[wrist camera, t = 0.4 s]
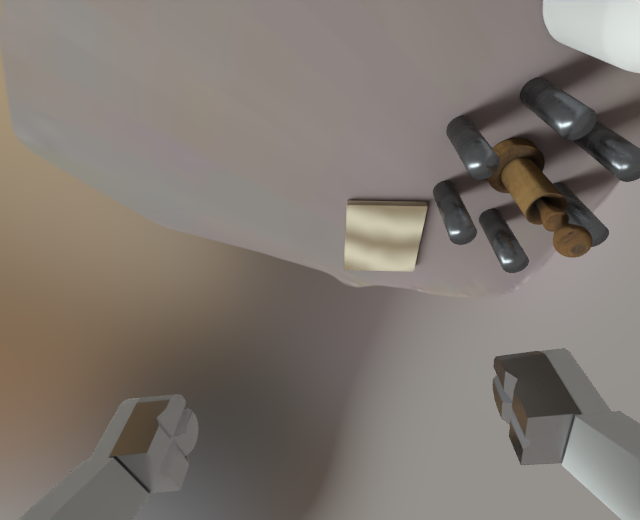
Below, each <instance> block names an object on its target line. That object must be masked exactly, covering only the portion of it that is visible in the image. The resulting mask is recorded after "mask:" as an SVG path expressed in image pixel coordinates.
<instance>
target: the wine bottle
mask: <svg viewBox="0 0 640 520" xmlns="http://www.w3.org/2000/svg"><path fill="white" fill-rule="evenodd" d="M543 17H544V22H545V25H546V27H547V30H548V31H549V33H550V34H551V35H552V37H553V38H554V39H556V40H557V41H558V42H560V43H562V44H564V45H567V46H569V47H571V48H574V49H576V50H578V51H581V52H583V53H586V54H588V55H590V56H593V57H595V58H597V59H600V60H602V61H605V62H607V63H609V64H612V65H614V66H616V67H619V68H621V69H623V70H626V71H631V72H636V73H640V0H543Z"/></svg>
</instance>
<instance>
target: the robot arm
mask: <svg viewBox="0 0 640 520" xmlns="http://www.w3.org/2000/svg"><path fill="white" fill-rule="evenodd" d="M494 369H495V371H496V374H497V375H496V376H495V377H494V378H493V393H494V398H495V402H496V405H497V408H498V411H499V413H500V416H501V418H502V419H503V420H504V421H506V422H507V423H508V424H509V425H510V430H509V438H510V440H511V443H512V445H513V447H514V450H515V452H516V455H517V457H518V459H519V462H520V464H521V465H531V464H532V465H533V464H553V463H562V466H563V467H564V468H566V469H567V470H568V471H569V472H570V473H571V474H572V475H573V476H574V477H575V478H576V479H578V480H579V481H580V482H581V483H582V484H583V485H584V486H585V487H586V488H587V489H589V490H590V491H591V492H592V493H593V494H594V495H595V496H596V497H597V498H599V499H600V500H601V501H602V502H603V503H604V504H605V505H606V506H607V507H608V508H609V509H610V510H612V511H613V512H614V513H615V514H616V515H617V516H618V517H619V518H620V519H622V520H640V424H639V423H638V422H637V421H635V420H633V419H632V418H630V417H628V416H627V415H625V414H624V413H622V412H620V411H611V410H610V408H609V407H608V406H607V404H606V403H605V401H604V400H603V398H602V397H601V396H600V394H599V393H598V391H597V390H596V388H595V387H594V386H593V384H592V383H591V381H590V380H589V379H588V377H587V376H586V374H585V373H584V371H583V370H582V369H581V367H580V366H579V364H578V363H577V362H576V360H575V359H574V357H573V356H572V355H571V353H570V352H569V351H568V350H566V349H565V348H563V349H555V350H546V351H534V352H526V353H518V354H511V355H503V356H497V357H496V358H495V359H494ZM185 403H186V401H185V400H184V398H183V397H182V396H181V395H180V394H178V395H167V396H156V397H144V398H135V399H126V400H125V401H124V402H122V403H121V404H120V406H119V407H118V409H117V411H116V413H115V414H114V416H113V418H112V420H111V422H110V423H109V425H108V427H107V429H106V431H105V433H104V434H103V436H102V438H101V440H100V441H99V443H98V445H97V447H96V449H95V450H94V453H93V454H92V456H91V458H90V459H88V460H84V461H83V462H82V463H80V464H79V465H78V466H77V467H76V468H75V469H74V470H73V471H71V473H69V474H68V475H67V476H66V477H65V478H64V479H63V480H61V481H60V482H59V483H58V484H57V485H56V486H55V487H54V488H53V489H51V490H50V491H49V492H48V493H47V494H46V495H45V496H44V497H43V498H41V499H40V500H39V501H38V502H37V503H36V504H35V505H34V506H32V507H31V508H30V509H29V510H28V511H27V512H26V513H25V514H24V515H22V516H21V517H20V518H19V519H18V520H132V519H133V518H134V516H135V515H136V514H137V512H138V511H139V510H140V508H141V507H142V506H143V505H144V503H145V502H146V501H147V500H148V498H149V497H150V493H159V492H168V491H178V490H181V487H182V484H183V481H184V477H185V475H186V472H187V469H188V465H189V462H188V459H187V455H188V454H189V452H190V451H191V450H192V449H193V448H194V447H195V444H196V441H197V437H198V422H197V418H196V416H195V414H194V413H193V411H191V410H189V409H187V408H185V407H184V406H185Z"/></svg>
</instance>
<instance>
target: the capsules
mask: <svg viewBox="0 0 640 520" xmlns="http://www.w3.org/2000/svg"><path fill="white" fill-rule="evenodd" d="M520 100H521V102H522V103H523V104H524V105H525V106H526V107H528V108H529V109H530V110H531V111H532V112H534V113H535V114H536V115H537V116H538V117H539V118H541V119H542V120H543V121H544V122H545V123H547V124H548V125H549V126H550V127H551V128H553V129H554V130H555V131H556V132H557V133H558V134H560V135H561V136H562V137H563V138H565V139H567V140H572V141H574V142H575V143H576V144H577V145H579V146H580V147H581V148H582V149H583V150H585V151H586V152H587V153H588V154H589V155H591V156H592V157H593V158H594V159H596V160H597V161H598V162H599V163H600V164H602V165H603V166H604V167H605V168H607V169H608V170H609V171H610V172H611V173H613V174H614V175H615V176H616V177H617V178H619V179H620V180H621V181H625V182H630V181H634V180H637V179H639V178H640V149H639V148H638V147H636V146H635V145H633V144H632V143H630V142H629V141H627V140H626V139H624V138H623V137H621V136H620V135H618V134H617V133H615V132H614V131H612V130H611V129H609V128H608V127H606V126H605V125H603V124H602V123H600V122H599V121H597V120H596V119H597V116H596V113H595V111H594V110H593V109H591V108H589V107H588V106H586V105H585V104H583V103H582V102H580V101H578V100H577V99H575V98H574V97H572V96H571V95H569V94H567V93H566V92H564V91H563V90H561V89H559V88H558V87H556V86H555V85H553V84H552V83H550V82H548V81H547V80H545V79H543V78H535V79H532V80H530V81H529V82H527V83H526V84H525V85H524V87H523V88H522V90H521V93H520ZM447 136H448V138H449V139H450V141H451V143H452V144H453V146H454V148H455V150H456V151H457V153H458V155H459V157H460V158H461V160H462V162H463V163H464V165H465V167H466V169H467V170H468V172H469V174H470V175H471V176H472V177H473V178H475V179H479V180H481V179H486V178H489V177H491V176H492V175H493V174H494V173H495V172H496V171H497V170H498V168H499V165H500V159H499V157H498V155H497V154H496V153H495V152H494V150H493V149H492V148H491V146H490V145H489V144H488V142H487V141H486V140H485V138H484V137H483V136H482V135H481V133H480V132H479V131H478V129H477V128H476V127H475V125H474V124H473V123H472V122H471V120H470V119H469V118H467V117H464V116H460V117H457V118H455V119H453V120H452V121H451V122H450V123H449V124H448V127H447ZM553 185H554V186H555V187H556V188H557V190H558V191H559V192H560V193H561V194H562V195H563V196H564V197H565V198H566V200H567V207H566V210H565V211H564V212H565V213H566V214H567V215H568V216H569V221H568V223H569V224H574V225H579V226H582V227H584V228H586V229H587V230H588V231H589V232H590V234H591V236H592V246H591V247H594V246H597V245H599V244H601V243H602V242H604V241H605V240H606V238H607V237H608V235H609V230H608V229H607V228H606V227H605V226H604V225H603V224H602V223H601V222H600V220H598V218H597V217H596V216H595V215H594V214H593V213H592V212H591V211H590V210H589V209H588V208H587V207H586V206H585V205H584V204H583V203H582V202H581V201H580V200H579V199H578V197H577V196H576V195H575V194H574V193H573V192H572V191H571V190H570V189H569V188H568V187H567V186H566V185H565V184H563V183H554V184H553ZM433 195H434V198H435V201H436V203H437V206H438V208H439V211H440V214H441V216H442V219H443V222H444V224H445V227H446V229H447V232H448V235H449V237H450V240H451V241H452V242H453V243H455V244H458V245H463V244H467V243H469V242H471V241H472V240H473V239H474V238H475V236H476V234H477V230H476V228H475V226H474V224H473V222H472V219H471V217H470V215H469V213H468V211H467V209H466V207H465V205H464V203H463V201H462V199H461V197H460V195H459V193H458V191H457V189H456V187H455V185H454V184H453V183H452V182H450V181H443V182H440V183H438V184H437V185H436V186H435V188H434V190H433ZM479 223H480V225H481V227H482V228H483V230H484V232H485V234H486V236H487V238H488V240H489V242H490V244H491V246H492V248H493V250H494V252H495V254H496V256H497V258H498V260H499V262H500V264H501V266H502V268H503V269H504V271H506V272H509V273H515V272H519V271H521V270H523V269H524V268H525V267H526V266H527V265H528V263H529V259H528V257H527V255H526V254H525V252H524V251H523V249H522V247H521V246H520V244H519V242H518V241H517V239H516V237H515V236H514V234H513V233H512V231H511V229H510V228H509V226H508V224H507V223H506V221H505V219H504V218H503V216H502V215H501V213H500V212H499V211H498V210H496V209H489V210H487V211H485V212H483V213H482V214H481V215H480V217H479Z"/></svg>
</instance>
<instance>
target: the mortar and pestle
mask: <svg viewBox="0 0 640 520" xmlns="http://www.w3.org/2000/svg"><path fill="white" fill-rule="evenodd" d="M493 150H494V152H495V153H496V154H497V155H498V157H499V159H500V165H499V168H498V170H497V171H496V172H495V173H494V174H493V175H492V176H491V177H489V178H486V179H487V180H488V182H489V183H490V185H491V186H492V187H493V188H494V189H495V190H497V191H499V192H502V193H510V194H511V196H512V197H513V199H514V200H515V202H516V203H517V205H518V206H519V208H520V209H521V211H522V212H523V214H524V215H525V217H526V219H527V220H528V221H529V222H530V223H532V224H537V225H540V224H543V225H544V228H545V229H546V230H548V231H554V237H553V245H554V247H555V249H556V250H557V251H558V252H559V253H560V254H561V255H563V256H567V257H579V256H582V255H583V254H585V253H587V252H588V251H589V249H590V247H591V246H592V236H591V234H590V232H589V231H588V230H587V229H586V228H584V227H582V226H579V225H574V224H569V223H568V221H569V216H568V215H567V214H566V213H565V212H564V211H565V210H566V207H567V200H566V198H565V197H564V196H563V195H562V194H561V193H560V192H559V191H558V190H557V188H556V187H555V186H554V185H553V184H552V183H551V182H550V181H549V180H548V178H547V177H546V176H545V175H544V174H543V173H542V171H543V168H544V157H543V155H542V153H541V151H540V150H539V149H538V148H537V147H536V146H535V145H534V144H533V143H532V142H530V141H528V140H526V139H522V138H514V139H509V140H506V141H503V142H501V143H499V144H498V145H496V146H495V147H494V148H493Z"/></svg>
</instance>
